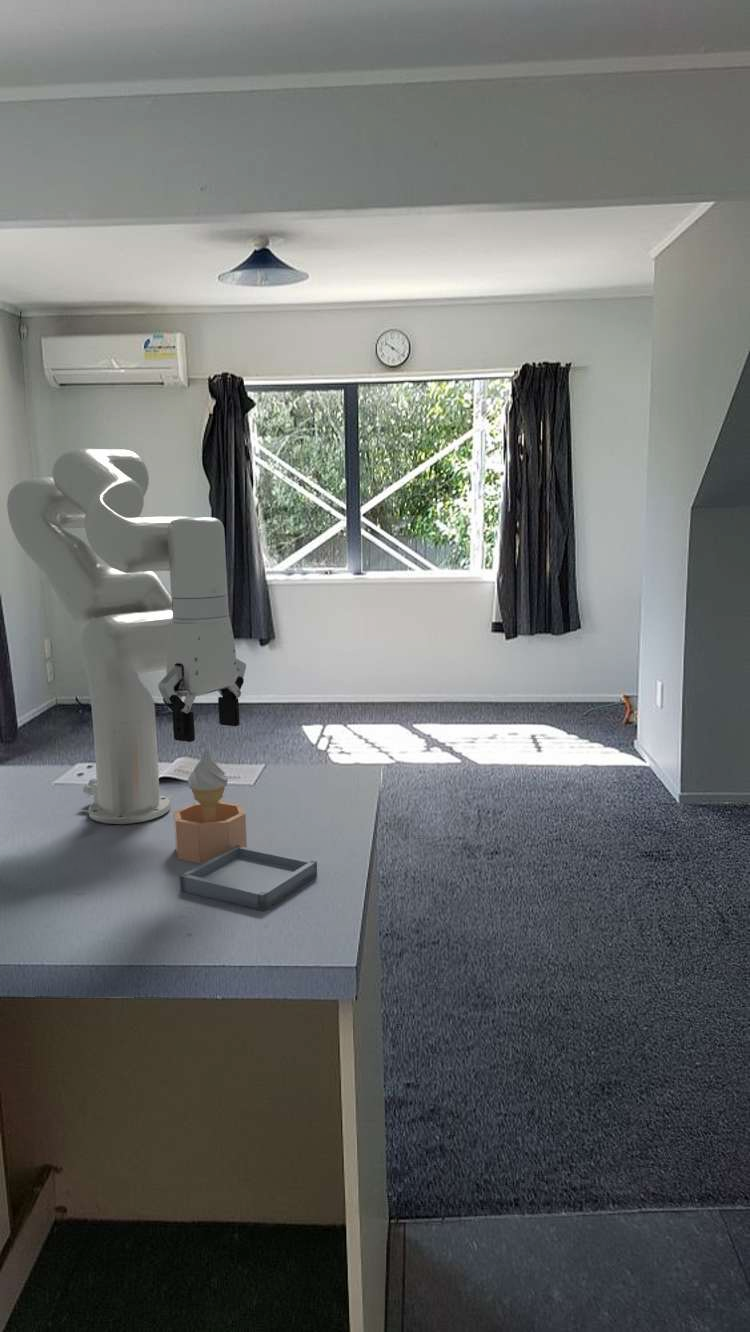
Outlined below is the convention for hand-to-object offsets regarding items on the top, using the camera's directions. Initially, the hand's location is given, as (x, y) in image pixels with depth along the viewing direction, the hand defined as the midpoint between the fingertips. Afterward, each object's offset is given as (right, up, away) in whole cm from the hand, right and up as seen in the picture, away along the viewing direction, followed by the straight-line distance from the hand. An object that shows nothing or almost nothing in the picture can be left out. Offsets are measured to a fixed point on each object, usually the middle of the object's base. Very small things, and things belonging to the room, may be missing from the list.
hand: (207, 732), depth 132 cm
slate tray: (+7, -19, -8) cm, 22 cm away
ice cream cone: (0, -17, +4) cm, 17 cm away
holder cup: (0, -17, +4) cm, 17 cm away
